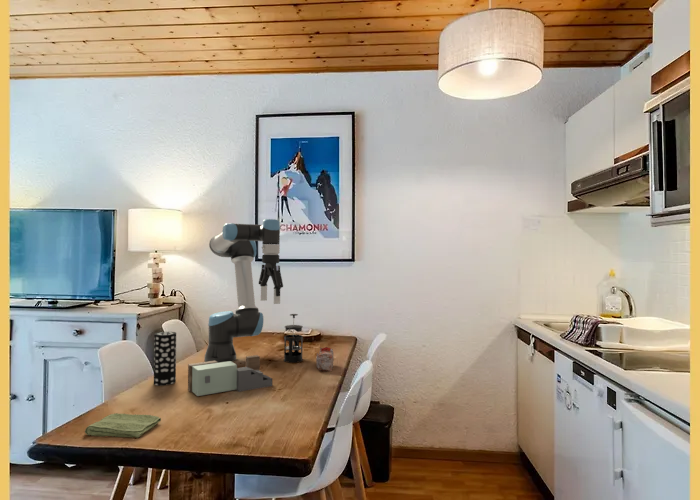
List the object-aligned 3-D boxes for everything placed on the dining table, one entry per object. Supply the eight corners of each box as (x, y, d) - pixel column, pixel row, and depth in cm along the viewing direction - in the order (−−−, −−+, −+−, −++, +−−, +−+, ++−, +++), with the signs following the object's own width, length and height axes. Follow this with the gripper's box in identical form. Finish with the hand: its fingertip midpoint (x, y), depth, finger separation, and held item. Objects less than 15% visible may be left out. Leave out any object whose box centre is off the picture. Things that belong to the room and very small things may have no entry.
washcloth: (139, 440, 128) (140, 429, 128) (81, 437, 129) (82, 426, 129) (163, 423, 141) (163, 413, 141) (110, 420, 142) (110, 410, 142)
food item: (333, 372, 201) (334, 350, 201) (315, 372, 201) (316, 350, 201) (333, 364, 215) (333, 344, 215) (317, 364, 214) (317, 344, 214)
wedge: (234, 388, 176) (234, 368, 176) (267, 383, 184) (267, 363, 184) (238, 392, 172) (238, 371, 172) (272, 386, 180) (272, 366, 180)
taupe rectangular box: (187, 390, 173) (188, 364, 173) (256, 378, 189) (256, 354, 189) (190, 392, 170) (190, 365, 170) (259, 380, 187) (259, 356, 187)
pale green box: (191, 391, 171) (192, 366, 171) (230, 384, 179) (230, 361, 179) (198, 396, 164) (198, 370, 164) (237, 389, 173) (237, 365, 173)
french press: (299, 363, 216) (299, 315, 216) (280, 362, 217) (281, 315, 218) (306, 357, 227) (306, 312, 227) (288, 356, 229) (288, 312, 229)
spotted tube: (180, 381, 184) (180, 332, 184) (164, 386, 177) (164, 336, 177) (165, 378, 188) (166, 331, 188) (148, 383, 180) (149, 334, 180)
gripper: (251, 253, 206) (251, 299, 206) (275, 254, 186) (274, 305, 186) (266, 253, 211) (266, 298, 211) (291, 254, 190) (290, 304, 190)
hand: (270, 302), depth 198 cm, fingers open, 13 cm apart
